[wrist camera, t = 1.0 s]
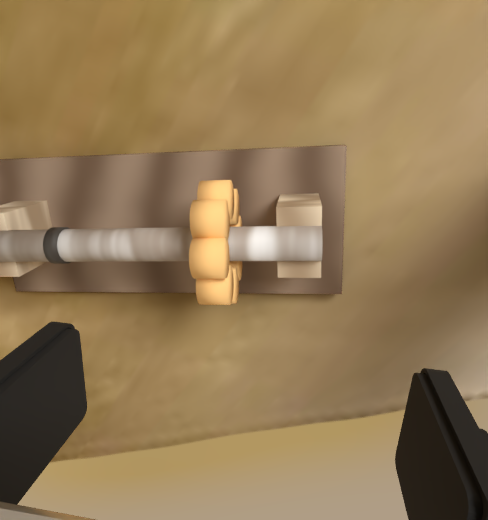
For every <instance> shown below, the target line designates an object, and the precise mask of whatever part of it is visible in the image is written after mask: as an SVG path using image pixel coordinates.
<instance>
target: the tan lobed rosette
mask: <svg viewBox="0 0 488 520" xmlns="http://www.w3.org/2000/svg"><path fill="white" fill-rule="evenodd" d="M239 210H240V209H239V195H238V190H237V189H233V184H232V181H231V180H208V181H200V182H199V185H198V190H197V200H193V201H192V203H191V207H190V230H191V235H192V238H193V239H192V240H191V243H190V249H189V267H190V272H191V275H192V277H193V278H194V279H196V296H197V300H198V303H199V304H200V305H231V303H235V304H236V303H237V301H238V294H239V281H240V280H241V276H242V261H230V253H229V244H228V238H229V232H230V227H242V220H241V216H239Z"/></svg>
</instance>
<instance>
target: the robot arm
mask: <svg viewBox="0 0 488 520" xmlns="http://www.w3.org/2000/svg"><path fill="white" fill-rule="evenodd" d="M86 410H87V401H86V391H85V381H84V372H83V362H82V352H81V343H80V334H79V331H78V330H76V329H75V328H74V326H73V325H72V324H68V323H60V322H50V323H48V324H47V325H46V326H45V327H43V328H42V329H41V330H39V331H38V332H37V333H35V334H34V335H33V336H32V337H30V338H29V339H28V340H26V341H25V342H24V343H22V344H21V345H20V346H19V347H17V348H16V349H15V350H13V351H12V352H11V353H9V354H8V355H7V356H5V357H4V358H3V359H2V360H0V520H95V519H90V518H84V517H79V516H74V515H68V514H63V513H58V512H52V511H47V510H42V509H36V508H31V507H26V506H20V505H17V504H18V503H19V501H20V500H21V499H22V497H23V496H24V495H25V493H26V492H27V491H28V489H29V488H30V487H31V486H32V484H33V483H34V482H35V481H36V479H37V478H38V477H39V475H40V474H41V473H42V471H43V470H44V469H45V468H46V466H47V465H48V464H49V462H50V461H51V460H52V458H53V457H54V456H55V455H56V453H57V452H58V451H59V449H60V448H61V447H62V445H63V444H64V443H65V442H66V440H67V439H68V438H69V436H70V435H71V434H72V432H73V431H74V430H75V428H76V427H77V426H78V425H79V423H80V422H81V421H82V419H83V418H84V416H85V414H86ZM395 463H396V470H397V474H398V478H399V482H400V486H401V490H402V494H403V499H404V503H405V507H406V511H407V515H408V519H409V520H488V433H487V432H486V431H485V430H483V429H479V427H478V426H477V424H476V422H475V420H474V418H473V416H472V414H471V413H470V411H469V409H468V407H467V405H466V403H465V402H464V400H463V398H462V396H461V394H460V392H459V391H458V389H457V387H456V385H455V383H454V382H453V380H452V378H451V376H450V374H449V373H448V372H447V371H442V370H434V369H426V368H424V369H422V371H421V373H414V375H413V378H412V383H411V387H410V392H409V396H408V401H407V405H406V410H405V414H404V419H403V423H402V428H401V432H400V437H399V441H398V446H397V450H396V458H395Z"/></svg>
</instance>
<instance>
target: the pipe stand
mask: <svg viewBox="0 0 488 520" xmlns="http://www.w3.org/2000/svg"><path fill="white" fill-rule="evenodd" d="M345 176H346V145H329V146H306V147H282V148H258V149H235V150H211V151H188V152H164V153H141V154H117V155H94V156H70V157H47V158H23V159H0V277H13V279H14V284H15V288H16V291H47V292H159V293H196V279H194V278H193V277H192V275H191V272H190V267H189V249H190V243H191V240H192V239H193V238H192V235H191V230H190V207H191V203H192V201H193V200H197V190H198V185H199V182H200V181H208V180H231V181H232V184H233V189H237V190H238V195H239V209H240V210H239V216H241V220H242V227H230V232H229V238H228V244H229V253H230V261H242V276H241V280H240V281H239V293H270V294H342V270H343V239H344V208H345Z"/></svg>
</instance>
